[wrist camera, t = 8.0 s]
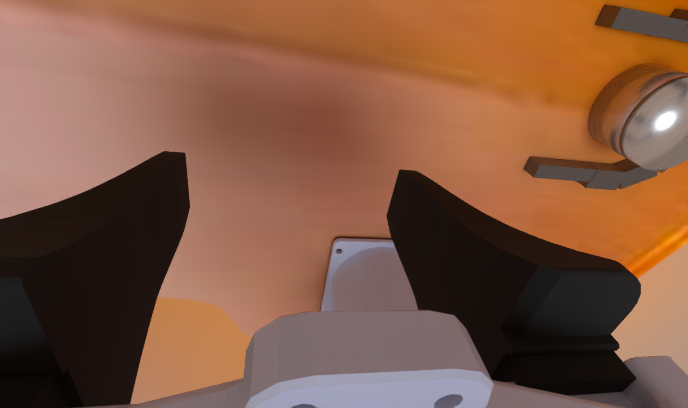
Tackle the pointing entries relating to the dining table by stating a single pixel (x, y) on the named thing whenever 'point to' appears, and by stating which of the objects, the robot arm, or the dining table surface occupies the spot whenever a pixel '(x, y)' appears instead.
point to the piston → (644, 116)
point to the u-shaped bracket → (626, 172)
